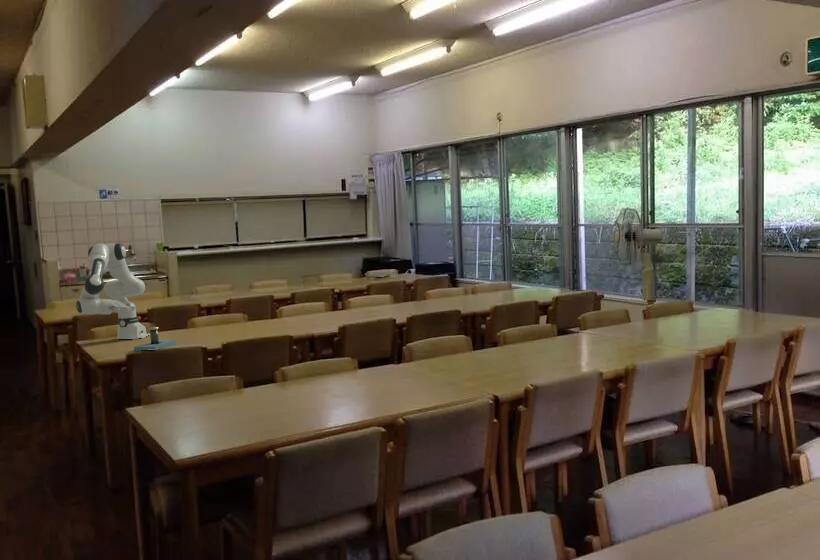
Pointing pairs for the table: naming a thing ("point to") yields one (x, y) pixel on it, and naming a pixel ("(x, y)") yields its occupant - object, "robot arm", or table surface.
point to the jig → (155, 345)
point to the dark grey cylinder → (154, 335)
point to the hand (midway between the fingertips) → (131, 306)
